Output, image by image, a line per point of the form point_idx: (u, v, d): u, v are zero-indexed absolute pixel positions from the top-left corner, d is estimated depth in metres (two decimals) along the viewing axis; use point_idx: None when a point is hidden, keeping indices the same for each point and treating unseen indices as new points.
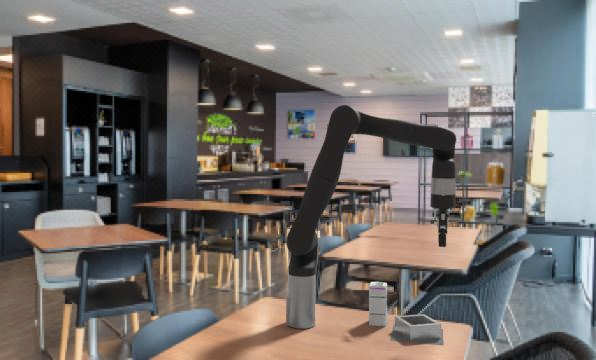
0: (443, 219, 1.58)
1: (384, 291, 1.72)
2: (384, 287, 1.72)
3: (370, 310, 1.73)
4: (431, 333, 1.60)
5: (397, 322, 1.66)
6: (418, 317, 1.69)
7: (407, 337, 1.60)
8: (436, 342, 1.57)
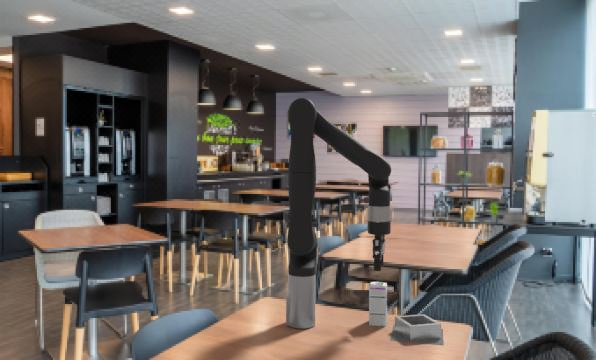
0: (377, 245, 1.68)
1: (384, 291, 1.72)
2: (384, 287, 1.72)
3: (370, 310, 1.73)
4: (431, 333, 1.60)
5: (397, 322, 1.66)
6: (418, 317, 1.69)
7: (407, 337, 1.60)
8: (436, 342, 1.57)
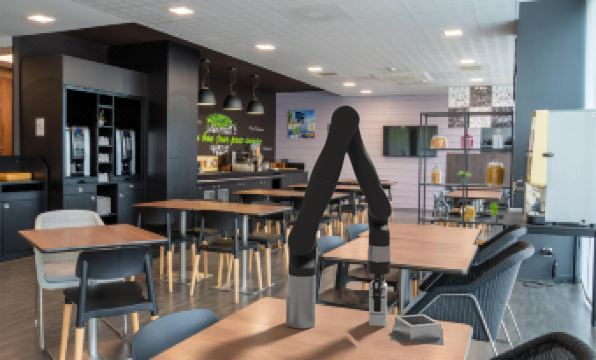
0: (377, 288, 1.69)
1: (384, 291, 1.72)
2: (384, 287, 1.72)
3: (370, 310, 1.73)
4: (431, 333, 1.60)
5: (397, 322, 1.66)
6: (418, 317, 1.69)
7: (407, 337, 1.60)
8: (436, 342, 1.57)
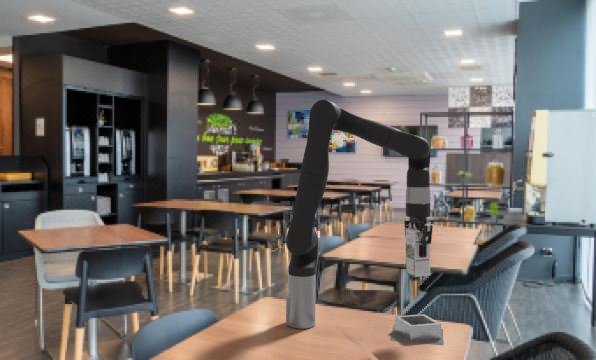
0: (428, 230, 1.58)
1: None
2: None
3: (415, 257, 1.61)
4: (431, 333, 1.60)
5: (397, 322, 1.66)
6: (418, 317, 1.69)
7: (407, 337, 1.60)
8: (436, 342, 1.57)
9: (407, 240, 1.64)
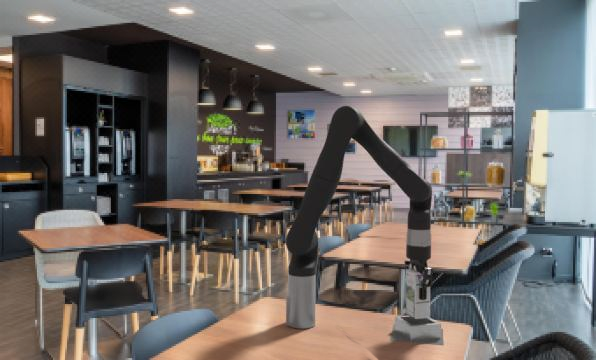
0: (429, 274, 1.58)
1: None
2: None
3: (416, 299, 1.61)
4: (431, 333, 1.60)
5: (397, 322, 1.66)
6: None
7: (407, 337, 1.60)
8: (436, 342, 1.57)
9: (407, 281, 1.64)
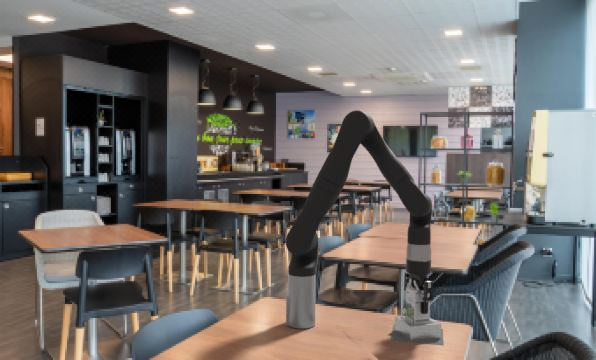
0: (429, 287, 1.57)
1: None
2: None
3: (415, 317, 1.61)
4: (431, 333, 1.60)
5: (397, 322, 1.66)
6: None
7: (407, 337, 1.60)
8: (436, 342, 1.57)
9: (407, 299, 1.65)
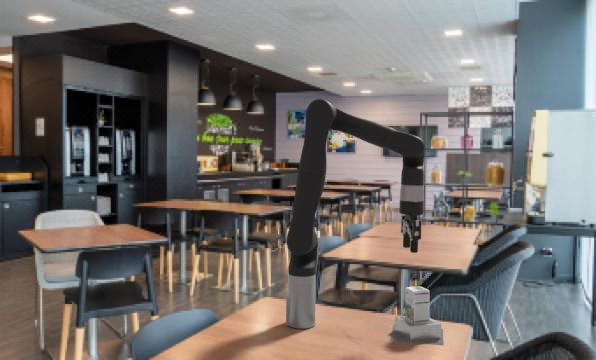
0: (417, 225, 1.61)
1: (428, 295, 1.62)
2: (428, 291, 1.62)
3: (415, 318, 1.61)
4: (431, 333, 1.60)
5: (397, 322, 1.66)
6: None
7: (407, 337, 1.60)
8: (436, 342, 1.57)
9: (407, 300, 1.65)
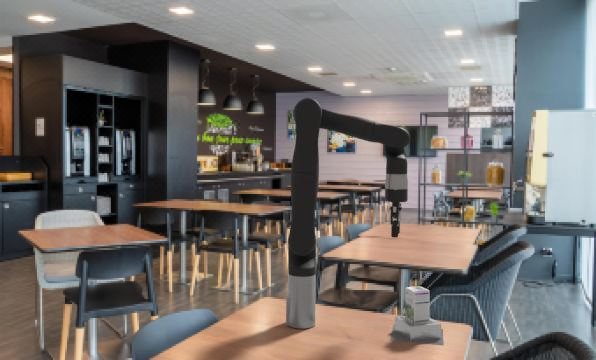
0: (395, 211, 1.71)
1: (428, 295, 1.62)
2: (428, 291, 1.62)
3: (415, 318, 1.61)
4: (431, 333, 1.60)
5: (397, 322, 1.66)
6: None
7: (407, 337, 1.60)
8: (436, 342, 1.57)
9: (407, 300, 1.65)
